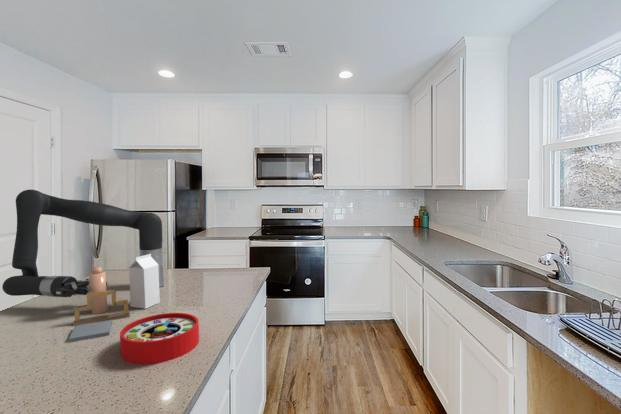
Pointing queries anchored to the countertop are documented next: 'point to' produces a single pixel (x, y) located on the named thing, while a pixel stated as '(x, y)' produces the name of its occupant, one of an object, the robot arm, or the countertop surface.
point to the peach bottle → (98, 290)
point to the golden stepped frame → (103, 317)
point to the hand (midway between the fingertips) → (97, 287)
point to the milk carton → (144, 282)
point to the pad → (90, 331)
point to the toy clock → (159, 338)
